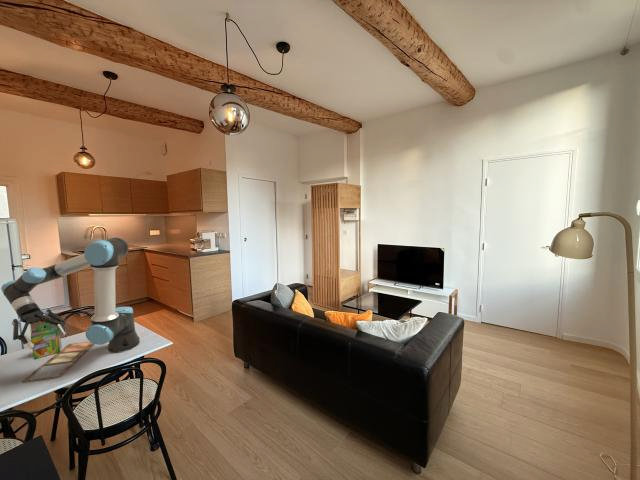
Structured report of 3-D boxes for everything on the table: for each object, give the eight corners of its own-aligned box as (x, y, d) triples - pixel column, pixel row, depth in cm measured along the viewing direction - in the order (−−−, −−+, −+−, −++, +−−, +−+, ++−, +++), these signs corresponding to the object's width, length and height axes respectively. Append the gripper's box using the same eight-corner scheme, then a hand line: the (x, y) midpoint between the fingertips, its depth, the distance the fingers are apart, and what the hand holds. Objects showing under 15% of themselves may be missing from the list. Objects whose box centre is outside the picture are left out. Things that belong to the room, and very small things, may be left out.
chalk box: (34, 360, 128) (28, 331, 126) (34, 353, 135) (29, 324, 132) (61, 352, 134) (56, 324, 132) (60, 345, 141) (55, 318, 139)
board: (58, 377, 131) (58, 375, 131) (21, 382, 127) (21, 380, 127) (97, 341, 164) (97, 340, 164) (69, 345, 161) (69, 343, 161)
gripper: (53, 303, 148) (75, 334, 145) (-12, 321, 126) (12, 358, 123) (58, 295, 146) (80, 326, 142) (-8, 312, 124) (17, 349, 120)
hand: (49, 341), depth 133 cm, fingers closed on chalk box, 12 cm apart
